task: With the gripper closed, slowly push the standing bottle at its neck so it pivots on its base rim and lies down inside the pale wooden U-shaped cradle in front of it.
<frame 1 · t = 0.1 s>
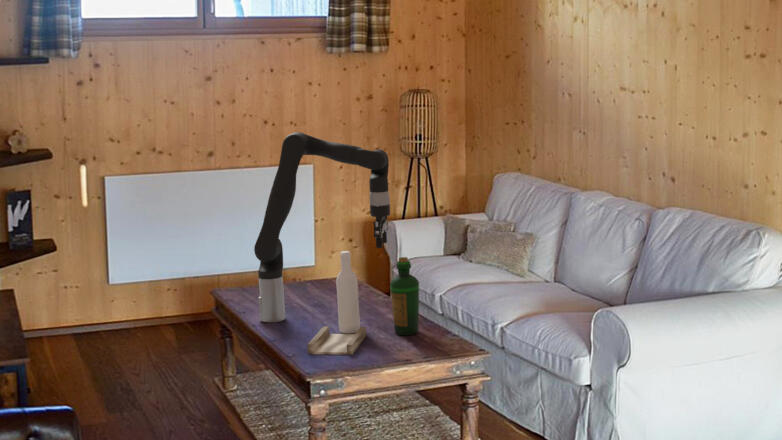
hand: (381, 245, 410), 29 cm above the table, tool pointing down, fingers open, 8 cm apart
cradle: (338, 345, 386), on the table
bottle 2: (406, 333, 397), on the table
bottle: (349, 331, 404), on the table
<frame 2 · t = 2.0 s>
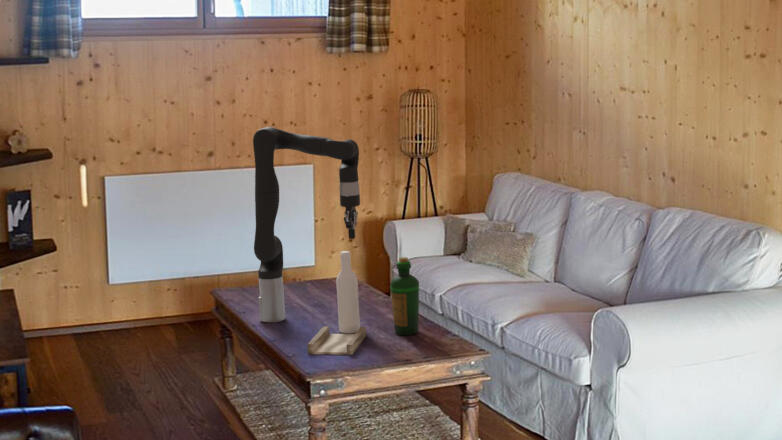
hand: (352, 238, 409), 33 cm above the table, tool pointing down, fingers closed
nothing on the table moved.
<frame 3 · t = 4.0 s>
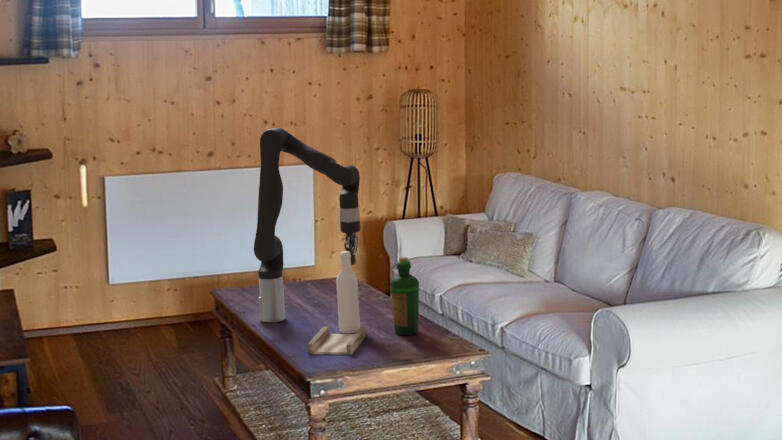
hand: (352, 264, 409), 23 cm above the table, tool pointing down, fingers closed
nothing on the table moved.
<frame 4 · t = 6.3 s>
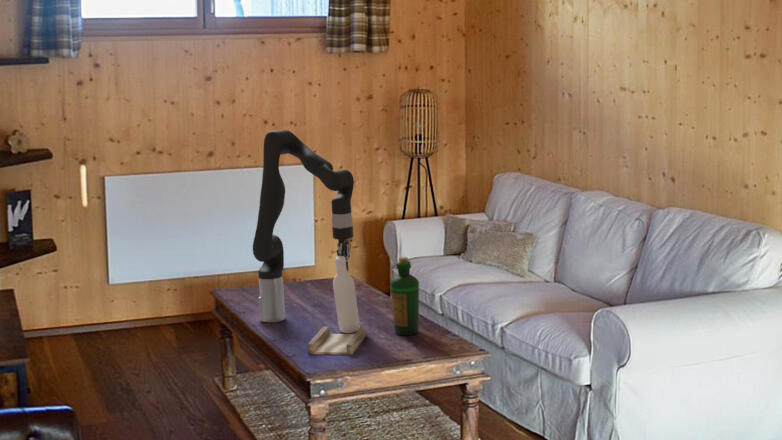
hand: (345, 271, 397), 23 cm above the table, tool pointing down, fingers closed
bottle: (349, 328, 403), point 1 cm above the table
everything else where it was.
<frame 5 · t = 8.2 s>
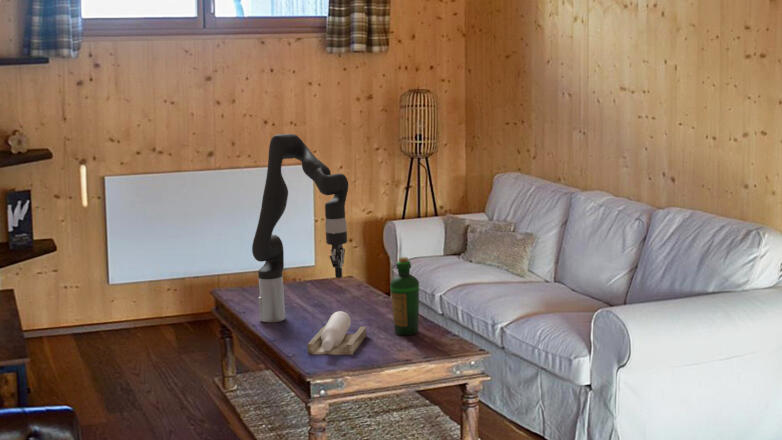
hand: (339, 277, 388), 23 cm above the table, tool pointing down, fingers closed
bottle: (340, 321, 399), point 5 cm above the table, touching cradle
everything else where it was.
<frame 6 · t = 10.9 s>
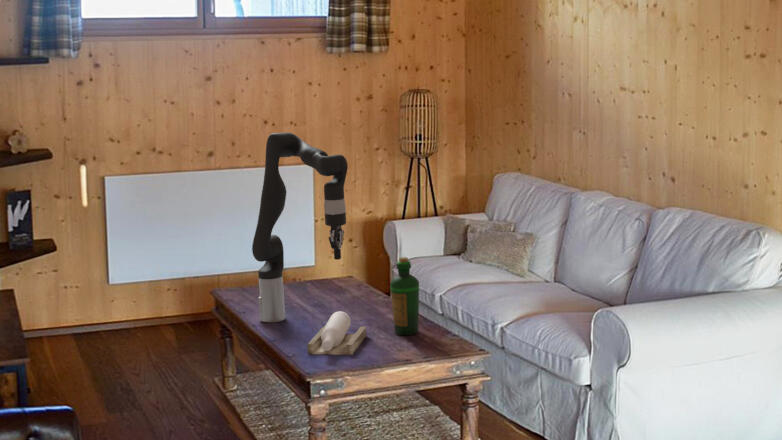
hand: (337, 259, 387), 30 cm above the table, tool pointing down, fingers closed
nothing on the table moved.
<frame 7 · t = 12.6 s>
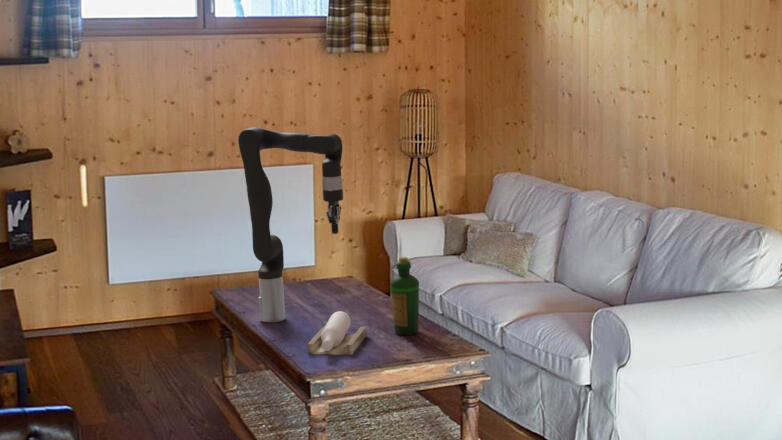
hand: (335, 233, 408), 35 cm above the table, tool pointing down, fingers closed
nothing on the table moved.
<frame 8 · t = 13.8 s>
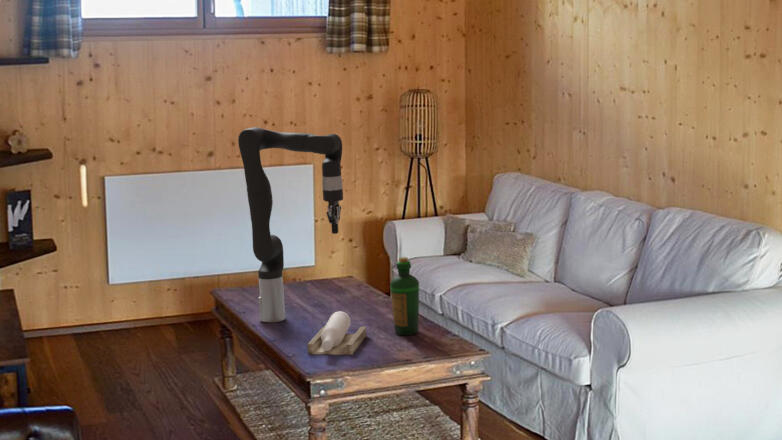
hand: (335, 233, 408), 35 cm above the table, tool pointing down, fingers closed
nothing on the table moved.
at the end: bottle tilted 90°; bottle inside the target area (2.5 cm from its centre), point 4.8 cm above the table; bottle touching cradle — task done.
